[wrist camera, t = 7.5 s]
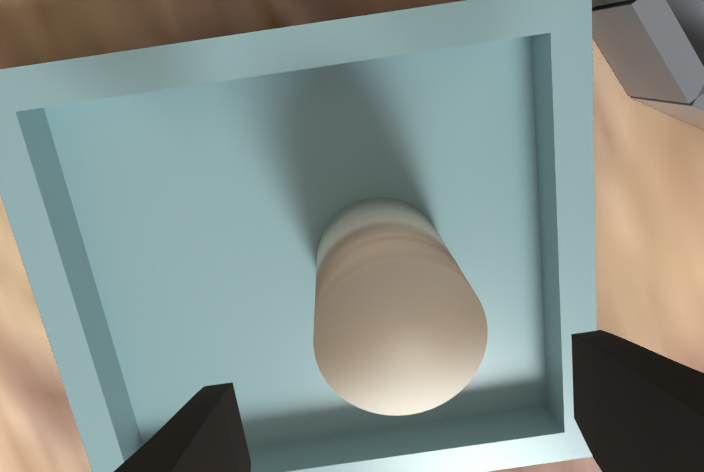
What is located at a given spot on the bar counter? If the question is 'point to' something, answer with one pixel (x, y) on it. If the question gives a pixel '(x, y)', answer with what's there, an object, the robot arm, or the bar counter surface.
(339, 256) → the cylinder
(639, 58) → the grey rounded shallow piece
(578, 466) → the bar counter surface
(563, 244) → the tray
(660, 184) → the bar counter surface
